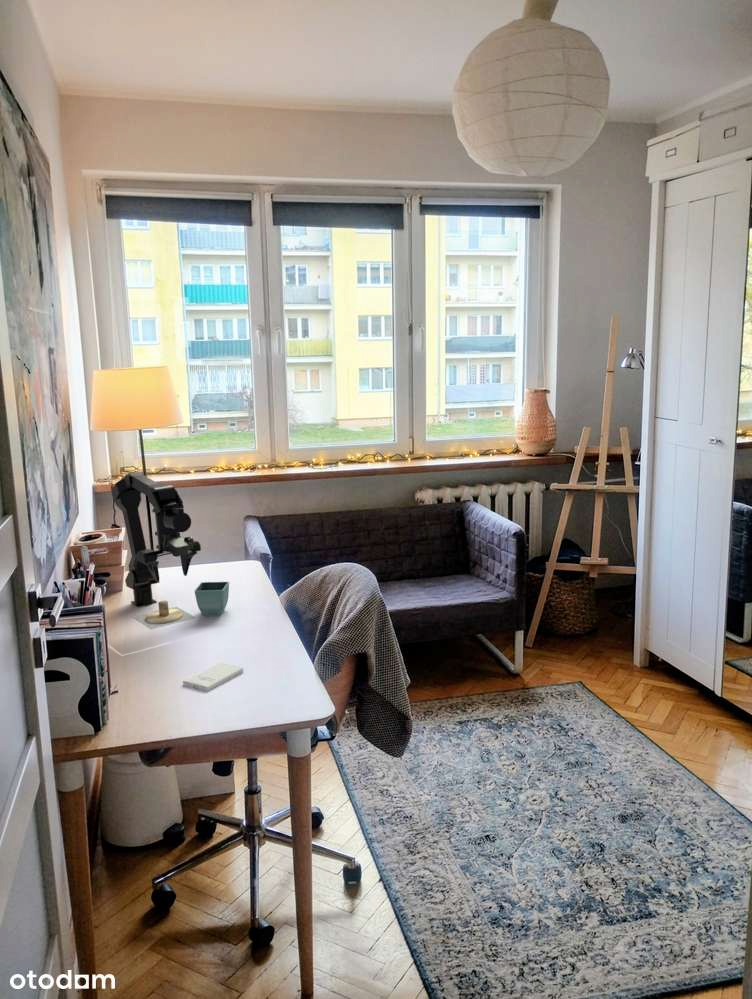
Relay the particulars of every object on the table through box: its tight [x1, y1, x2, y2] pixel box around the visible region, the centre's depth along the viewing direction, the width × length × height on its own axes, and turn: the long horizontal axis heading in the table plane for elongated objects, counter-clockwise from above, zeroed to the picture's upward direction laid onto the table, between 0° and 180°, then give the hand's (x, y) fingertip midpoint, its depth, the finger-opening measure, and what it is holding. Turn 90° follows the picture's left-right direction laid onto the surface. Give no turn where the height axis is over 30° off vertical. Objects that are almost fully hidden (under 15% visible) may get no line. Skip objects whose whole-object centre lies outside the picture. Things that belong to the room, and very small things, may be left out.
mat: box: [133, 606, 197, 630], centre depth 235 cm, size 14×14×1 cm
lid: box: [145, 600, 183, 624], centre depth 234 cm, size 11×11×5 cm
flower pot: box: [194, 581, 230, 617], centre depth 236 cm, size 9×9×9 cm
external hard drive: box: [182, 662, 244, 692], centre depth 190 cm, size 2×8×12 cm
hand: (171, 579), depth 232 cm, fingers open, 9 cm apart
